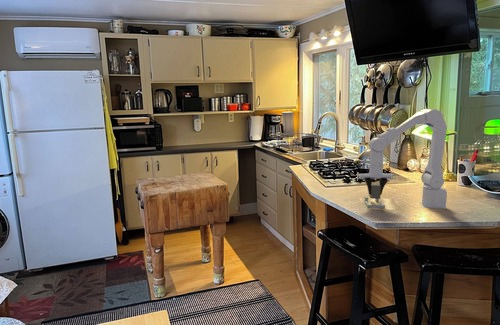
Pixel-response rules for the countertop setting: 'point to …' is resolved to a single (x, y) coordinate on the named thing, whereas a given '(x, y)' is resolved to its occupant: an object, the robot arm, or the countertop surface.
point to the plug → (375, 191)
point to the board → (389, 204)
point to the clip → (367, 199)
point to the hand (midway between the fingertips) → (374, 194)
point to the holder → (375, 205)
